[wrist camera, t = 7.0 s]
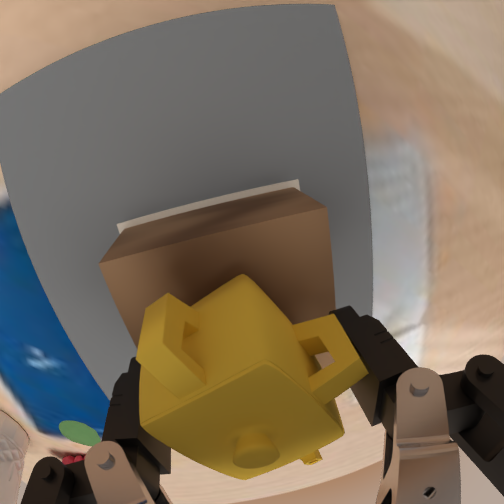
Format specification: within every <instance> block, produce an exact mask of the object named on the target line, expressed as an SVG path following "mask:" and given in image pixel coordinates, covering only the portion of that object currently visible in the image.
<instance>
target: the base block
mask: <svg viewBox="0 0 504 504" xmlns="http://www.w3.org/2000/svg"><path fill="white" fill-rule="evenodd" d="M99 267H100V269H101V272H102V274H103V277H104V279H105V281H106V284H107V286H108V288H109V291H110V293H111V295H112V298H113V300H114V302H115V304H116V307H117V309H118V311H119V313H120V315H121V317H122V319H123V321H124V324H125V326H126V328H127V330H128V332H129V334H130V336H131V338H132V340H133V342H134V344H135V346H136V348H137V349H138V344H139V339H140V334H141V329H142V324H143V319H144V314H145V309H146V308H147V307H148V306H150V305H151V304H153V303H154V302H155V301H157V300H158V299H160V298H161V297H162V296H164V295H165V294H167V293H170V294H171V295H173V296H174V297H176V298H177V299H179V300H180V301H182V302H183V303H185V304H186V305H188V306H190V307H191V306H192V305H194V304H195V303H197V302H198V301H200V300H201V299H202V298H204V297H205V296H207V295H209V294H210V293H212V292H213V291H215V290H216V289H218V288H219V287H221V286H222V285H224V284H225V283H227V282H228V281H230V280H232V279H233V278H235V277H237V276H239V275H241V274H245V275H247V276H248V277H249V278H250V279H252V280H253V281H254V282H255V283H256V284H257V285H258V286H259V287H260V288H261V289H262V290H263V291H264V292H265V294H266V295H267V296H268V297H269V298H270V299H271V300H272V301H273V302H274V303H275V304H276V306H277V307H278V308H279V309H280V310H281V311H282V312H283V313H284V315H285V316H286V317H287V318H288V319H289V321H290V322H291V323H292V324H293V325H294V324H298V323H302V322H306V321H309V320H313V319H317V318H320V317H324V316H327V315H329V312H330V311H332V310H336V302H335V287H334V273H333V261H332V250H331V239H330V230H329V220H328V212H327V207H326V206H324V205H323V204H321V203H319V202H318V201H316V200H314V199H313V198H311V197H309V196H308V195H306V194H304V193H303V192H301V191H299V190H298V189H296V188H294V187H291V188H286V189H281V190H276V191H272V192H267V193H263V194H258V195H254V196H249V197H245V198H241V199H236V200H232V201H228V202H224V203H220V204H215V205H211V206H207V207H203V208H199V209H195V210H191V211H187V212H184V213H180V214H176V215H172V216H168V217H165V218H161V219H157V220H154V221H150V222H146V223H143V224H139V225H136V226H132V227H129V228H125V229H124V230H123V231H122V232H121V234H120V235H119V236H118V238H117V239H116V240H115V242H114V243H113V244H112V246H111V247H110V248H109V250H108V251H107V252H106V254H105V255H104V257H103V258H102V259H101V261H100V262H99ZM315 356H316V358H317V360H318V362H319V363H320V365H321V367H322V369H324V368H325V367H327V366H329V365H330V364H332V363H333V362H335V361H334V359H333V358H332V356H331V355H330V353H329V352H325V353H321V354H317V355H315Z"/></svg>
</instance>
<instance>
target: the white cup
mask: <svg viewBox="0 0 504 504" xmlns="http://www.w3.org/2000/svg"><path fill="white" fill-rule="evenodd" d="M28 444H29V438H28V436H27V433H26V432H25V431H24V430H23V429H22V428H21V426H20V425H19V424H18V423H17V422H15V421H14V420H13V419H12V418H11V417H9V416H8V415H7V414H5V413H4V412H2V411H1V410H0V504H17V499H18V493H19V488H20V483H21V478H22V472H23V468H24V458H25V455H26V451H27V448H28Z"/></svg>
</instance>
